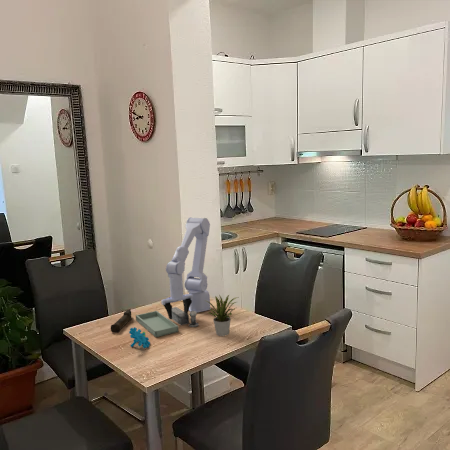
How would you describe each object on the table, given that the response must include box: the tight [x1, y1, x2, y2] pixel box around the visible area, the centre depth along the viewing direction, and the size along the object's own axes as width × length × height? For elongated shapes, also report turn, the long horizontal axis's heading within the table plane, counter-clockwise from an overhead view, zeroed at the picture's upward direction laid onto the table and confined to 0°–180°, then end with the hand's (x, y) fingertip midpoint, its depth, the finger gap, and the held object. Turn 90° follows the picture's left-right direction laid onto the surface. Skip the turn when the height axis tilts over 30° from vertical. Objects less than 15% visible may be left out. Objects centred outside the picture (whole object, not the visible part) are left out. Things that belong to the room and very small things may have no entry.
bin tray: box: [135, 310, 179, 338], centre depth 199 cm, size 10×24×2 cm, turn 30°
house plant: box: [207, 294, 239, 337], centre depth 185 cm, size 14×14×16 cm
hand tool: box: [110, 309, 132, 334], centre depth 202 cm, size 19×4×5 cm, turn 168°
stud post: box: [188, 310, 200, 328], centre depth 197 cm, size 4×4×7 cm
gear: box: [128, 327, 151, 349], centre depth 178 cm, size 11×6×10 cm
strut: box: [171, 306, 190, 326], centre depth 205 cm, size 4×14×4 cm, turn 30°
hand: (178, 316), depth 205 cm, fingers open, 7 cm apart
